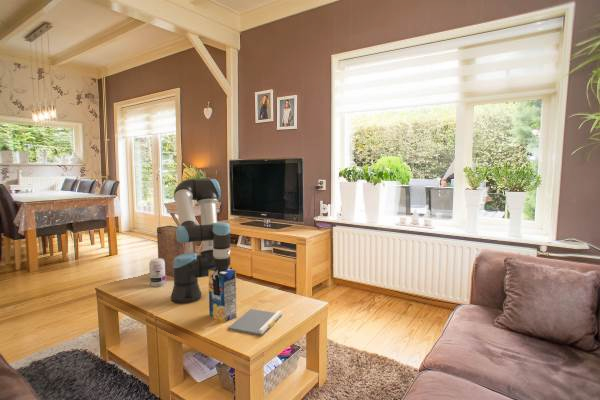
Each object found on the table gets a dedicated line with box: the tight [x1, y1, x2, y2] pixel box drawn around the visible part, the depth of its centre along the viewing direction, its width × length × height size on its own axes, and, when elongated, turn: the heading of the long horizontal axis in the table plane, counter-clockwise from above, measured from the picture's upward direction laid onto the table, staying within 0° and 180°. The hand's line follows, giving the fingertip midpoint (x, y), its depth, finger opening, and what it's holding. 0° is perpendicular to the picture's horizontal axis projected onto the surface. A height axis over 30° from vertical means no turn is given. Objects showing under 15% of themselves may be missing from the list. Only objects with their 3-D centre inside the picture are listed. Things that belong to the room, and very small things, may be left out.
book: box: [156, 225, 197, 278], centre depth 214 cm, size 25×9×30 cm, turn 58°
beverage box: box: [208, 267, 237, 324], centre depth 153 cm, size 7×11×22 cm, turn 51°
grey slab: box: [227, 308, 283, 337], centre depth 148 cm, size 16×20×2 cm
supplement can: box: [148, 257, 166, 288], centre depth 195 cm, size 8×8×15 cm
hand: (222, 306), depth 154 cm, fingers closed on beverage box, 3 cm apart
